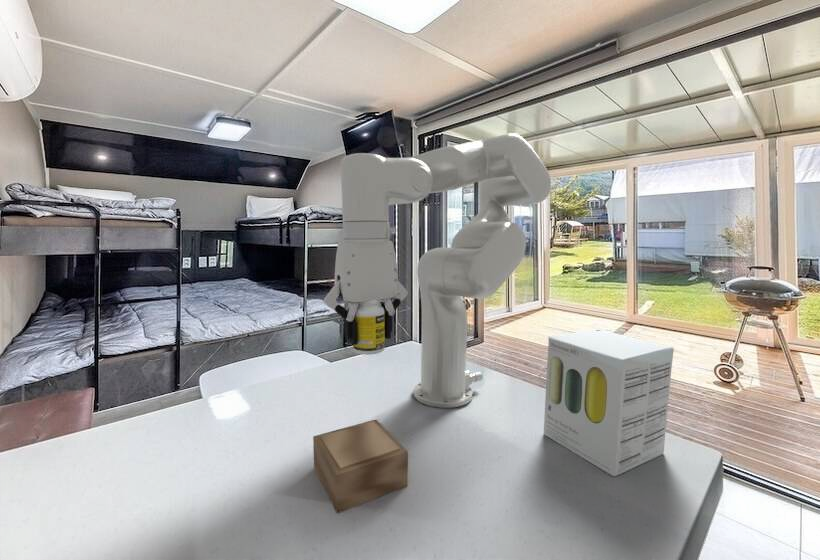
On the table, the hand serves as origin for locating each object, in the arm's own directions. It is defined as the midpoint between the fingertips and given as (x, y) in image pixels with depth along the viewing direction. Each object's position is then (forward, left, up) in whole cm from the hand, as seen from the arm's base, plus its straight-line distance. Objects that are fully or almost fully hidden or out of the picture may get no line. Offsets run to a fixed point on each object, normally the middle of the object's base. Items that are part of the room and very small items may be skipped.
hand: (369, 338), depth 62 cm
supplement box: (-31, +23, -17) cm, 42 cm away
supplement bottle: (0, 0, -2) cm, 2 cm away
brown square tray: (+7, +11, -16) cm, 21 cm away
